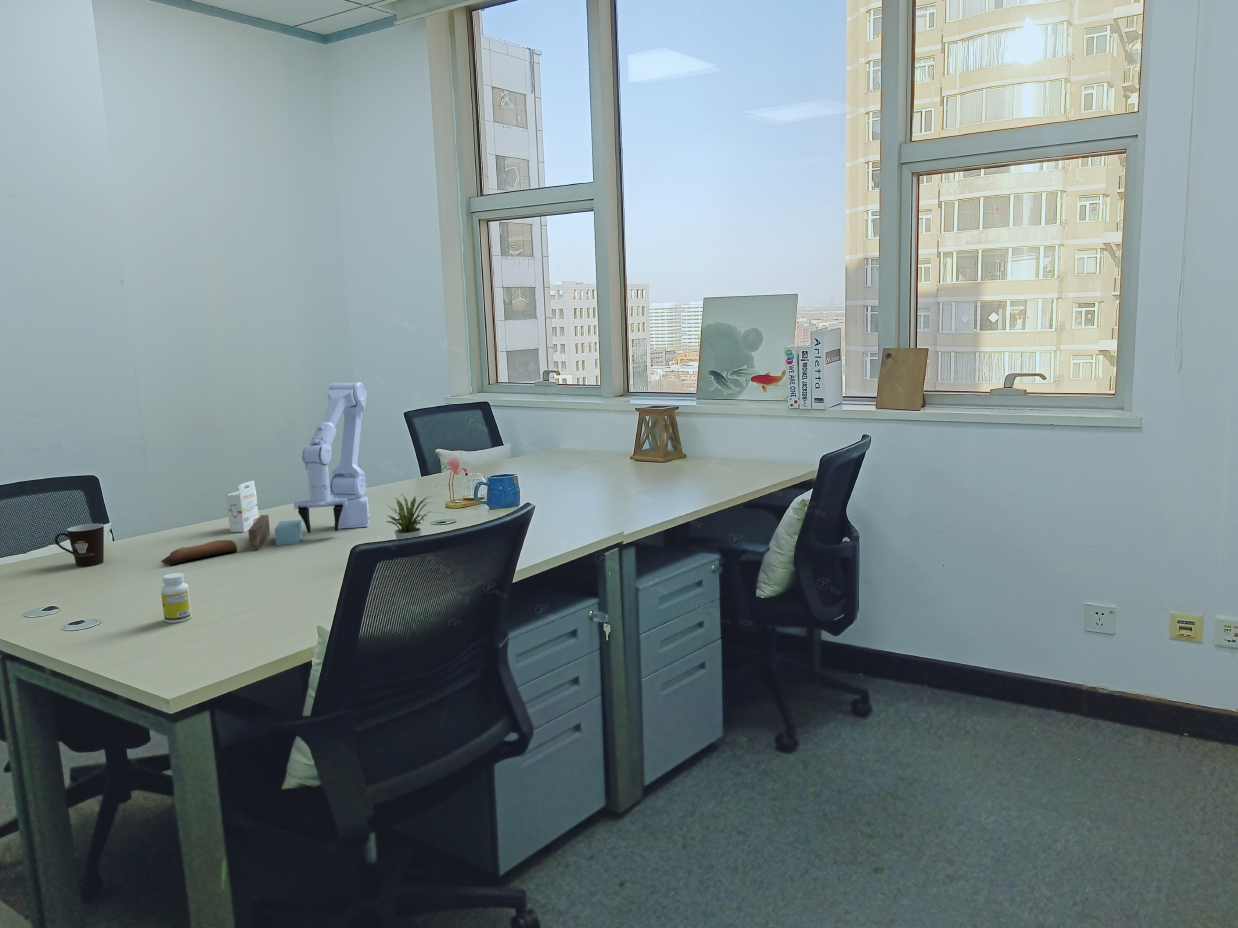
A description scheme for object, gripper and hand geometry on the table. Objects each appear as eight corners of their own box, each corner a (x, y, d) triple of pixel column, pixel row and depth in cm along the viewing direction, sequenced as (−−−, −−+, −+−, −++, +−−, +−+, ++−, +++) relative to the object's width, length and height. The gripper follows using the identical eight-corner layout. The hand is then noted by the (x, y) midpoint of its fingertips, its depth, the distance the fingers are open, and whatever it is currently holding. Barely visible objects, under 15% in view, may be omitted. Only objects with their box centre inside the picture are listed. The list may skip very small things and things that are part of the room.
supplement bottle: (170, 615, 201) (165, 572, 199) (196, 614, 201) (191, 571, 200) (160, 624, 195) (155, 579, 194) (186, 622, 196) (181, 578, 194)
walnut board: (270, 534, 276) (268, 514, 275) (257, 550, 257) (255, 529, 256) (263, 534, 276) (261, 515, 275) (250, 550, 256) (248, 529, 255)
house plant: (451, 548, 252) (447, 489, 250) (420, 561, 240) (416, 499, 237) (409, 544, 258) (405, 487, 256) (376, 556, 246) (372, 496, 243)
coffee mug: (115, 560, 250) (111, 524, 249) (88, 568, 242) (83, 531, 241) (83, 557, 254) (78, 522, 253) (55, 566, 246) (50, 529, 245)
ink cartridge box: (245, 525, 289) (241, 479, 286) (260, 526, 288) (255, 479, 285) (229, 532, 280) (224, 484, 278) (243, 532, 279) (239, 484, 277)
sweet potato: (224, 547, 261) (227, 529, 257) (235, 563, 257) (238, 545, 254) (158, 561, 248) (160, 542, 245) (168, 578, 244) (171, 559, 241)
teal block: (302, 536, 273) (301, 519, 272) (298, 544, 263) (296, 527, 263) (281, 537, 272) (279, 521, 271) (276, 545, 262) (274, 528, 261)
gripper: (291, 489, 262) (295, 536, 264) (343, 486, 264) (347, 532, 267) (294, 485, 268) (298, 530, 271) (346, 482, 271) (349, 527, 273)
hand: (323, 531), depth 269 cm, fingers open, 7 cm apart
